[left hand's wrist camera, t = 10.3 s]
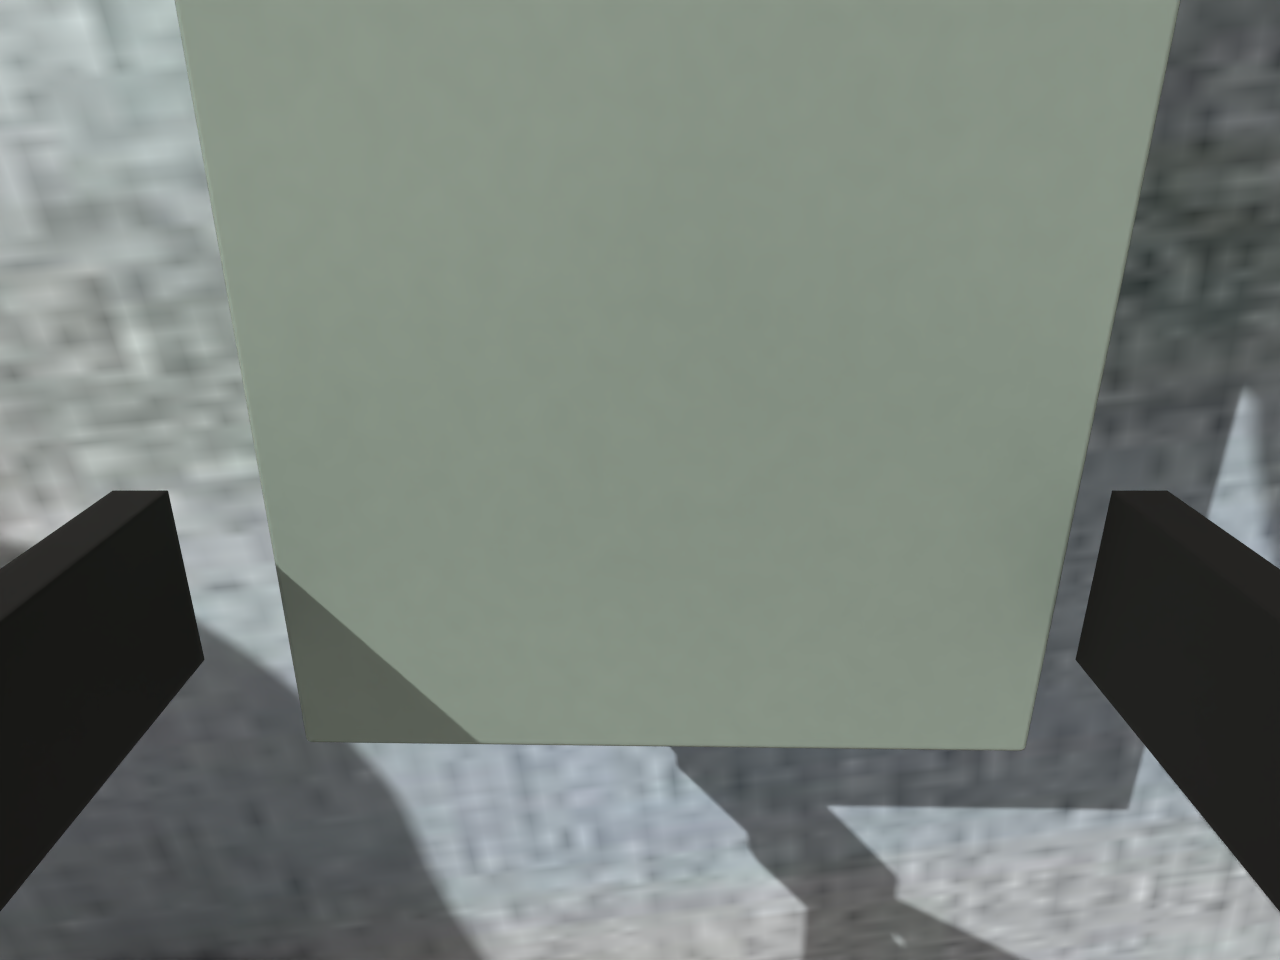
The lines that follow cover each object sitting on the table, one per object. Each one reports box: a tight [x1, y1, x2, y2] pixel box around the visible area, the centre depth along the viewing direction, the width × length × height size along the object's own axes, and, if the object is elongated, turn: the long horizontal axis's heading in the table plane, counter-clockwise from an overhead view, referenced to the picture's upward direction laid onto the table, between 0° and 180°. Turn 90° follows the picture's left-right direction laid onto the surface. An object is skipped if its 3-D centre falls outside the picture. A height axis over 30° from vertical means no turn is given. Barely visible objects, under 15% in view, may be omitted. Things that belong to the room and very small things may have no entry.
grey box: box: [175, 0, 1180, 751], centre depth 14 cm, size 19×11×8 cm, turn 0°
